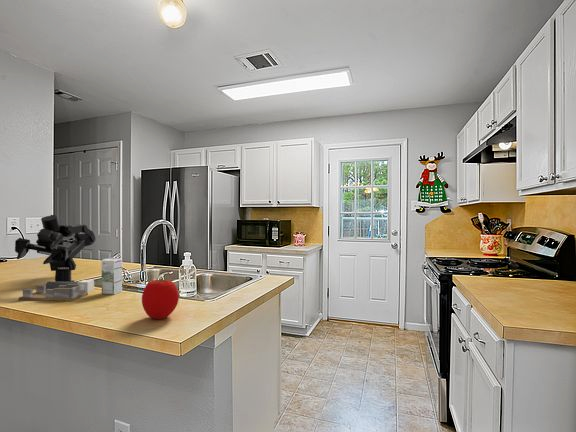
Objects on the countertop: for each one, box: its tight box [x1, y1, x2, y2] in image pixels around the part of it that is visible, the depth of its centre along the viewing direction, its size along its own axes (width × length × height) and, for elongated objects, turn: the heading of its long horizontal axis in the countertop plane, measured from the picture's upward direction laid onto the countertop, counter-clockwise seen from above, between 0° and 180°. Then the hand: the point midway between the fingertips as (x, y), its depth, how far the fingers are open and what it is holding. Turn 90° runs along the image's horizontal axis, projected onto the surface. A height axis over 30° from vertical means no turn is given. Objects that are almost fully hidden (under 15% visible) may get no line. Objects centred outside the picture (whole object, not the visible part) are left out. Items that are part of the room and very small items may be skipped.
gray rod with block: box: [45, 279, 95, 294], centre depth 138 cm, size 18×4×4 cm, turn 89°
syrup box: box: [101, 257, 123, 295], centre depth 135 cm, size 6×6×14 cm
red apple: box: [141, 278, 180, 320], centre depth 104 cm, size 11×11×13 cm
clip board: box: [18, 284, 89, 302], centre depth 127 cm, size 9×21×4 cm, turn 89°
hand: (30, 260), depth 128 cm, fingers open, 9 cm apart
